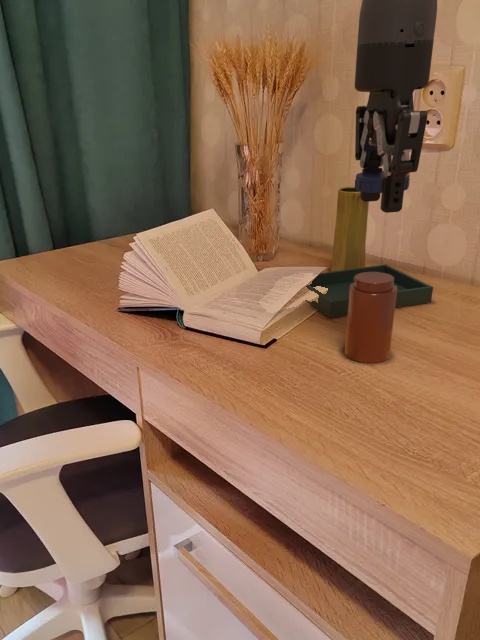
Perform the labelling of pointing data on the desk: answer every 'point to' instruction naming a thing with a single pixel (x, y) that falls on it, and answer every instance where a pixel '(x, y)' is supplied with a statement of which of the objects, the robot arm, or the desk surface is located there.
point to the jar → (370, 317)
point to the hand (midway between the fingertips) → (380, 205)
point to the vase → (350, 230)
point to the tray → (340, 282)
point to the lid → (373, 181)
